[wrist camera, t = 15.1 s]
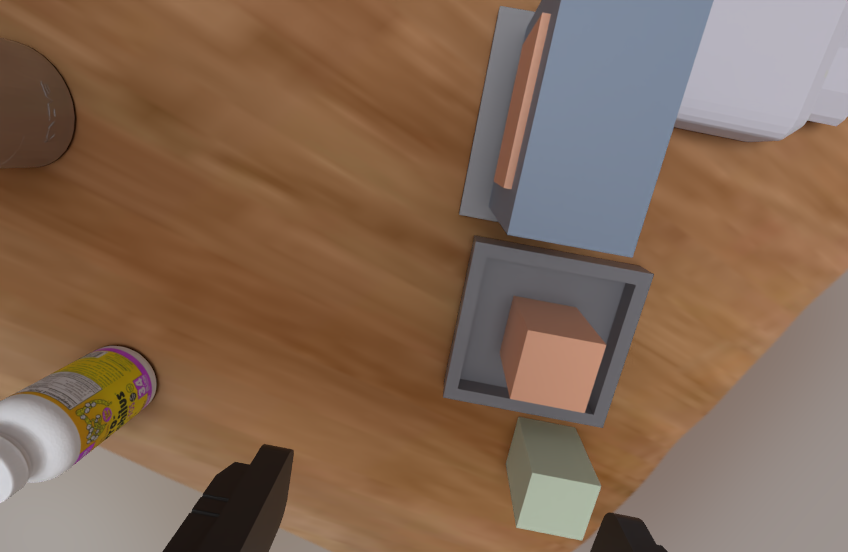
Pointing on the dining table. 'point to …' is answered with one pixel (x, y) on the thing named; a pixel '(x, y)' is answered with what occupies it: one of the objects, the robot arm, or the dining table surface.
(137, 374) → the supplement bottle
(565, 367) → the terracotta block
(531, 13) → the block
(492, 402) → the tray
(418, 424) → the dining table surface
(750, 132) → the charger
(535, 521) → the sage block
